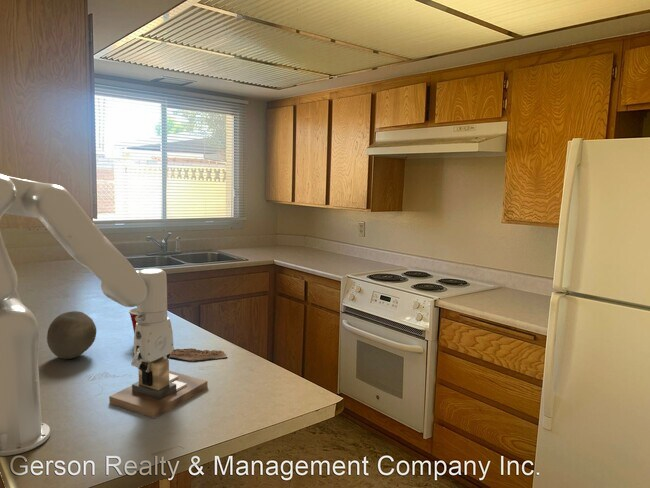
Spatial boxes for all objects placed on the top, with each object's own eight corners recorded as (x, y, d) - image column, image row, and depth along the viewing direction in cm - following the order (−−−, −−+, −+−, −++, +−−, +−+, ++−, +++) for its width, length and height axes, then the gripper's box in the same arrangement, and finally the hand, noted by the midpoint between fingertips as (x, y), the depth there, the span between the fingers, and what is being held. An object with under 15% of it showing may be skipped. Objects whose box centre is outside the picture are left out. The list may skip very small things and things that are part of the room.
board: (154, 418, 120) (154, 410, 120) (109, 403, 127) (109, 396, 127) (207, 387, 138) (207, 380, 138) (165, 375, 145) (165, 369, 145)
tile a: (176, 391, 131) (176, 389, 131) (165, 388, 133) (165, 385, 132) (186, 385, 134) (186, 383, 134) (175, 382, 136) (175, 380, 136)
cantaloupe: (48, 369, 147) (46, 321, 145) (47, 353, 159) (45, 309, 157) (99, 361, 155) (97, 315, 152) (94, 346, 167) (92, 304, 164)
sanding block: (159, 400, 125) (158, 367, 124) (132, 391, 130) (131, 359, 129) (176, 391, 131) (175, 359, 129) (149, 383, 135) (148, 352, 134)
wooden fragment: (232, 352, 166) (232, 349, 166) (222, 365, 155) (222, 361, 155) (159, 348, 168) (159, 345, 168) (145, 360, 157) (145, 357, 157)
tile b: (168, 383, 136) (168, 381, 136) (157, 380, 137) (157, 378, 137) (178, 377, 139) (178, 375, 139) (168, 375, 141) (168, 373, 141)
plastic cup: (168, 341, 174) (167, 308, 172) (141, 349, 165) (140, 315, 163) (149, 334, 180) (148, 303, 178) (123, 342, 171) (121, 309, 169)
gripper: (137, 326, 118) (139, 397, 121) (185, 310, 133) (186, 373, 136) (116, 321, 121) (118, 390, 124) (165, 306, 136) (166, 367, 139)
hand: (154, 380), depth 130 cm, fingers closed on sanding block, 4 cm apart
